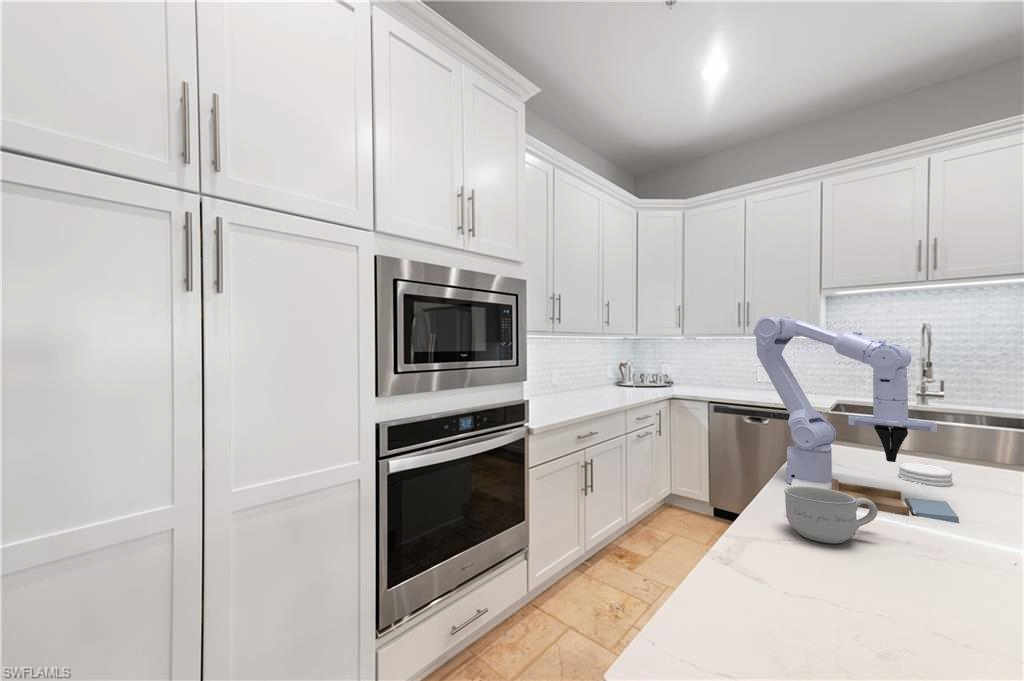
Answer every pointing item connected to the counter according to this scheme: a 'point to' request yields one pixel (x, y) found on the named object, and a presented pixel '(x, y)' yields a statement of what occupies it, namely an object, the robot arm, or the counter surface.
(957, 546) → the counter surface
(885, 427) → the robot arm
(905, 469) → the coaster
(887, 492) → the wooden tray
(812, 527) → the teacup
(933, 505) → the tailgate
